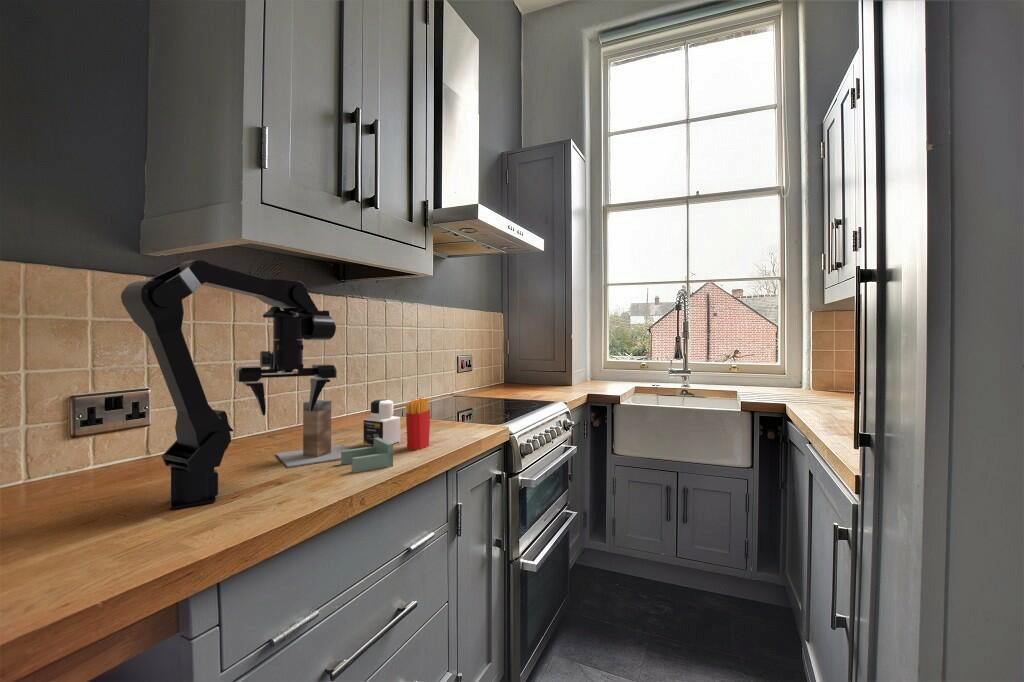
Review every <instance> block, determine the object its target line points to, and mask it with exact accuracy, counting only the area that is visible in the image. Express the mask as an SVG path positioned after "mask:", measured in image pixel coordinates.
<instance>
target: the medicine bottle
mask: <svg viewBox="0 0 1024 682" xmlns="http://www.w3.org/2000/svg"><path fill="white" fill-rule="evenodd" d="M378 437H379V438H381V439H383V440H385V441H387V442H390V443H392V444H393V445H395V444H398V443H397V442H399V443H400V442H401V417H400V416H394V401H392V400H391V399H375V400H373V401H371V402H370V416H369V417H365V418H363V445H365V444H368V445H367V446H371V445H374V438H378ZM394 443H395V444H394Z"/></svg>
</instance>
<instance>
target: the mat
mask: <svg viewBox="0 0 1024 682" xmlns="http://www.w3.org/2000/svg"><path fill="white" fill-rule="evenodd" d="M344 450H351V449H350V448H348V447H347V446H344V445H343V444H338V445H337V444H336V445H331V453H330V454H327V455H323V456H320V457H310V456H303V449H300V450H291V451H285V452H284V451H283V452H276V453H275V456H276V455H277V456H278V457H279V458H278V457H277V456H276V457H277V458H278V459H279V460H280V461H281V462H282V463H283V464H284V466H286V468H287V469H289V467H291V468H297V467H302V466H301V465H304V466H308V465H307V464H310V465H315V464H314V463H317V464H322V463H321V462H323V463H328V462H327V461H330V462H335V460H337V461H341V451H344ZM296 466H297V467H296Z"/></svg>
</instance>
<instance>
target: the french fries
mask: <svg viewBox="0 0 1024 682" xmlns="http://www.w3.org/2000/svg"><path fill="white" fill-rule="evenodd" d="M429 401H430V399H429V398H423V397H420V398H418V399H412V400H411V401H410V403H409V402H407V403H405V409H406V412H405V418H406V421H405V422H406V445H407V447H406V448H407V450H408V449H412V450H411V451H417V450H416V449H420V450H423V449H425V448H427V447H426V446H428V445H429V446H430V426H431V409H429V404H430V403H429ZM429 446H428V447H429ZM424 447H425V448H424ZM422 448H423V449H422Z"/></svg>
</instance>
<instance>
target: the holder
mask: <svg viewBox="0 0 1024 682" xmlns="http://www.w3.org/2000/svg"><path fill="white" fill-rule="evenodd" d="M340 464H341V465H343V466H345V464H346V465H350V464H351V473H352V474H353V473H355V472H356V473H361V472H360V471H362V472H367V471H373V470H378V468H379V469H384V468H383V467H385V468H390V467H389V466H391V467H393V466H394V444H392V443H390V442H387V441H385V440H383V439H381V438H379V437H378V438H374V446H367V447H366V446H365V447H359V448H353V449H352V448H351V449H350V450H344V451H341V460H340ZM372 469H373V470H372ZM356 473H355V474H356Z"/></svg>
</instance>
